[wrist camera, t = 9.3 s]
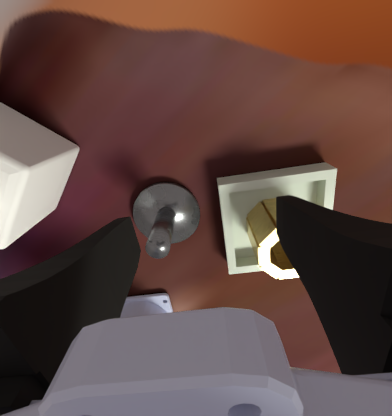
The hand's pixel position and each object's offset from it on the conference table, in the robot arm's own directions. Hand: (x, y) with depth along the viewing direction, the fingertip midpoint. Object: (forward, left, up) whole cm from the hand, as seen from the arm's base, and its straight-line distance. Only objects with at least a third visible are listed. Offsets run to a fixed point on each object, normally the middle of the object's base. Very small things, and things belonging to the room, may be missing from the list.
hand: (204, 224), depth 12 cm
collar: (-6, -6, -10) cm, 13 cm away
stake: (-4, +4, -10) cm, 12 cm away
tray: (-6, -6, -10) cm, 13 cm away
